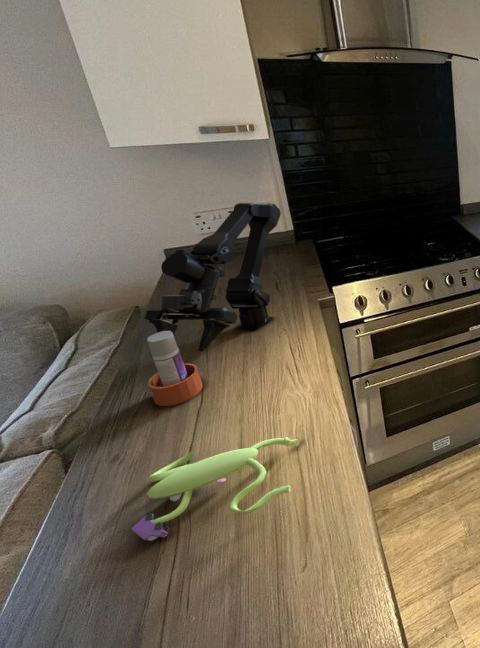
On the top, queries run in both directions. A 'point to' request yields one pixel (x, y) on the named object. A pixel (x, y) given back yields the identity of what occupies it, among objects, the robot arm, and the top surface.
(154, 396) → the orange-brown bowl
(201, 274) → the robot arm
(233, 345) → the top surface
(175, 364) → the container
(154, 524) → the figurine
